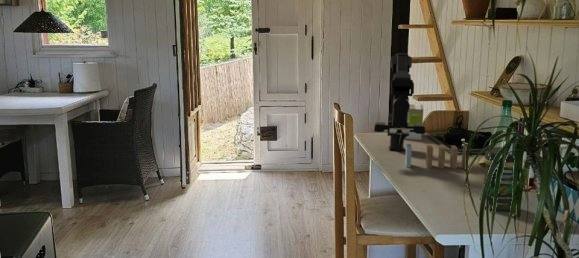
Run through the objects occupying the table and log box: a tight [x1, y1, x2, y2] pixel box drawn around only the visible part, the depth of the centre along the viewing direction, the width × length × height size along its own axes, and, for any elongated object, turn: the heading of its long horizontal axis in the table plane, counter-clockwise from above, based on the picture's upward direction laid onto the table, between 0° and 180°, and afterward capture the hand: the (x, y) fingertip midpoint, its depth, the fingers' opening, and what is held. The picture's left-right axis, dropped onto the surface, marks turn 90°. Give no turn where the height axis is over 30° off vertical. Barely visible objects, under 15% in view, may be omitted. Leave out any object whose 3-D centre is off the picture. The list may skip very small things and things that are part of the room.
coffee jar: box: [479, 146, 514, 212], centre depth 162 cm, size 10×8×19 cm
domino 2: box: [425, 144, 434, 169], centre depth 208 cm, size 5×2×8 cm, turn 174°
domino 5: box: [461, 145, 471, 171], centre depth 206 cm, size 5×2×8 cm, turn 174°
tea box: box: [404, 103, 424, 141], centre depth 260 cm, size 15×10×15 cm
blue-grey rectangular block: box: [404, 143, 413, 168], centre depth 209 cm, size 5×2×8 cm, turn 174°
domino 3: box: [437, 144, 446, 170], centre depth 207 cm, size 5×2×8 cm, turn 174°
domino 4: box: [449, 145, 459, 170], centre depth 207 cm, size 5×2×8 cm, turn 174°
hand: (398, 150), depth 209 cm, fingers closed
